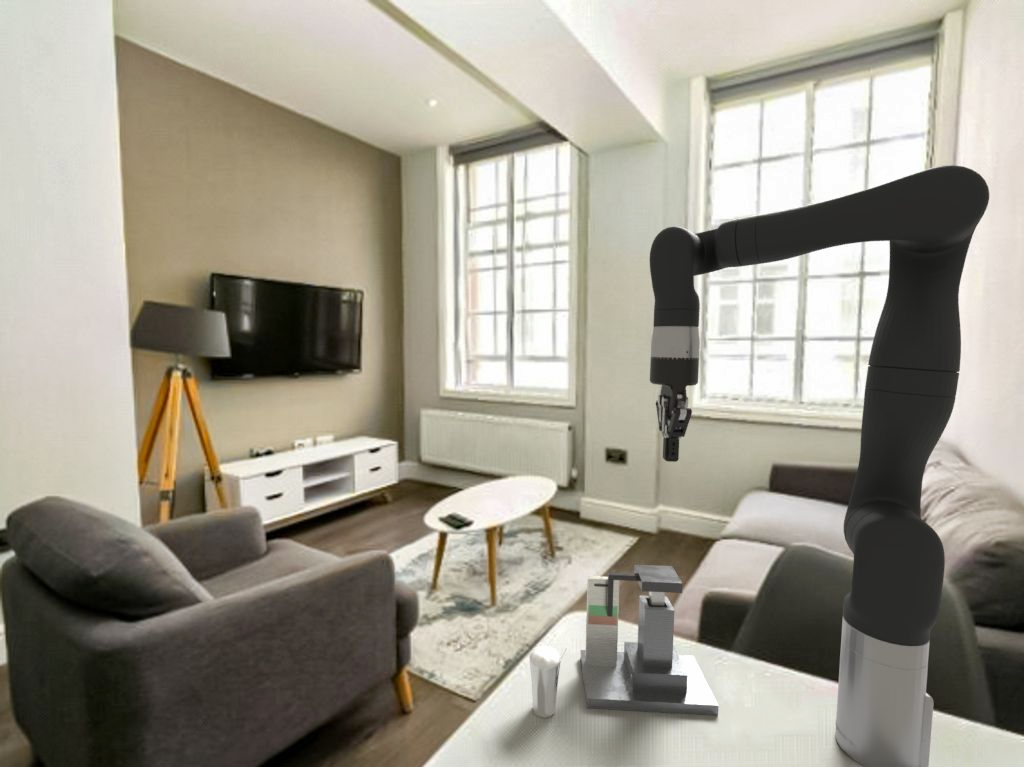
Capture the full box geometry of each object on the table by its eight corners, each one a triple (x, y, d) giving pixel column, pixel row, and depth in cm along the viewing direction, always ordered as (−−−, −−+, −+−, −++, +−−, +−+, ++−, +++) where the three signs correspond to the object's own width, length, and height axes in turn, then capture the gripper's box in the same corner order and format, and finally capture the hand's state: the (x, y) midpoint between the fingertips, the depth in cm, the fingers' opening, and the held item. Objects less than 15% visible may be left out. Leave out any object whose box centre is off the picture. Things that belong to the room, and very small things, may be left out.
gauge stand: (693, 664, 85) (697, 572, 84) (718, 715, 73) (723, 609, 72) (580, 658, 86) (583, 567, 85) (587, 708, 74) (590, 603, 73)
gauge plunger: (669, 634, 82) (671, 566, 81) (679, 657, 76) (682, 583, 75) (604, 631, 83) (606, 563, 82) (609, 653, 77) (611, 580, 76)
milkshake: (561, 726, 71) (563, 657, 70) (524, 716, 72) (526, 650, 72) (567, 704, 75) (569, 640, 74) (533, 696, 77) (534, 633, 76)
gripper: (712, 356, 75) (707, 470, 76) (685, 355, 88) (681, 452, 89) (661, 355, 75) (657, 469, 77) (642, 354, 88) (639, 451, 90)
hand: (670, 460), depth 83 cm, fingers closed
